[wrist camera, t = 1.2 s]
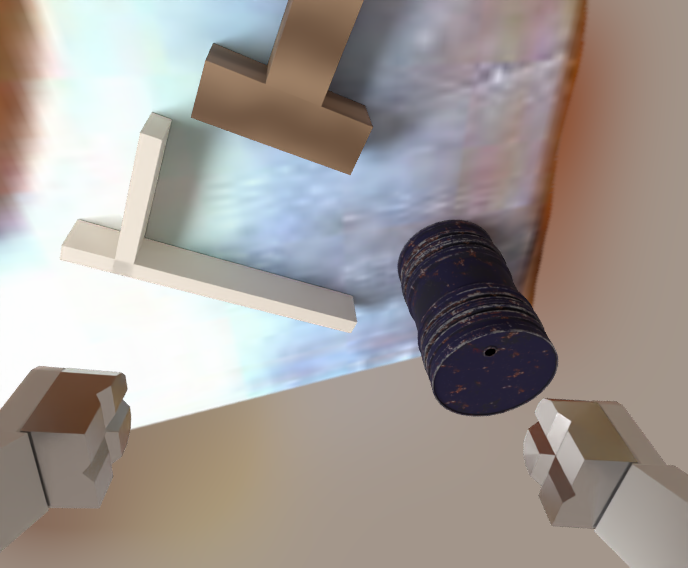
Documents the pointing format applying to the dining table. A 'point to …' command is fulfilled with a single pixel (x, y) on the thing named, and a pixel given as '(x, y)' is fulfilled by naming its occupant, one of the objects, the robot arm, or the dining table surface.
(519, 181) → the dining table surface
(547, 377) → the rusty oil barrel
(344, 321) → the corner fence
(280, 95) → the t block
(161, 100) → the dining table surface
